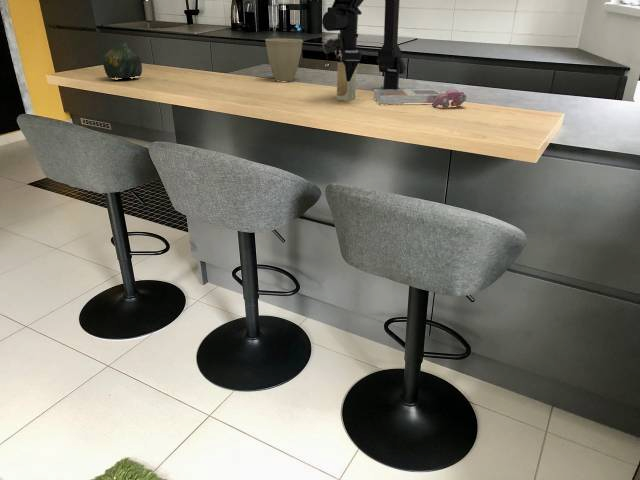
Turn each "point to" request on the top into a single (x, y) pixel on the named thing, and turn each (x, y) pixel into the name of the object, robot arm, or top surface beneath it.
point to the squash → (122, 62)
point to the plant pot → (284, 57)
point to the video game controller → (450, 98)
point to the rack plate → (405, 95)
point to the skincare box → (345, 84)
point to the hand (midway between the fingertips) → (346, 79)
